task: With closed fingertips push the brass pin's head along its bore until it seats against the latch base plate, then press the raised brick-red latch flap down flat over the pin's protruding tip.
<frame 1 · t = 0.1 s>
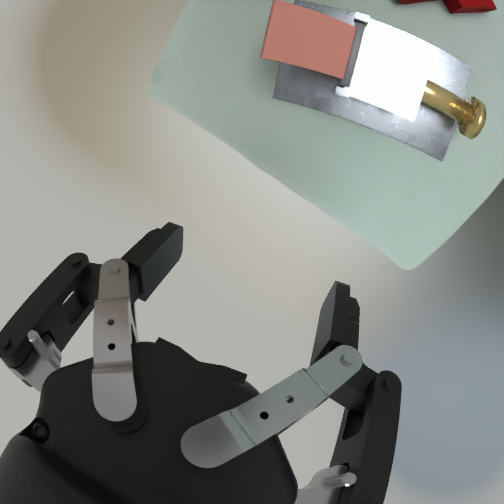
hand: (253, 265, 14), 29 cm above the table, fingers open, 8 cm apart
latch flap: (315, 41, 18), point 13 cm above the table, hinge at 30.0°
brass pin: (429, 93, 23), point 5 cm above the table, slide at 8.0 cm
latch base plate: (377, 73, 27), on the table
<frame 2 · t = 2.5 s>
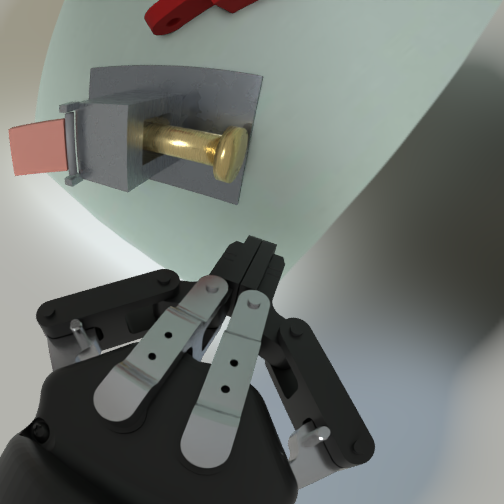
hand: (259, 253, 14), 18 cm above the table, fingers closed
latch flap: (41, 147, 22), point 13 cm above the table, hinge at 30.0°
brass pin: (173, 141, 26), point 5 cm above the table, slide at 8.0 cm
latch base plate: (154, 124, 31), on the table
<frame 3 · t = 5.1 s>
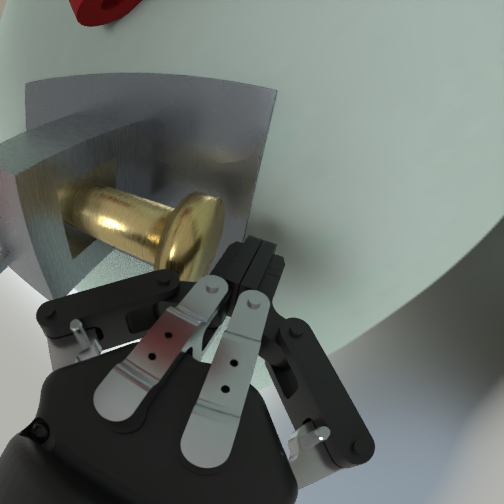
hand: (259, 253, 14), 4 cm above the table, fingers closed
brass pin: (101, 211, 15), point 5 cm above the table, slide at 6.7 cm, touching gripper
latch base plate: (102, 168, 19), on the table
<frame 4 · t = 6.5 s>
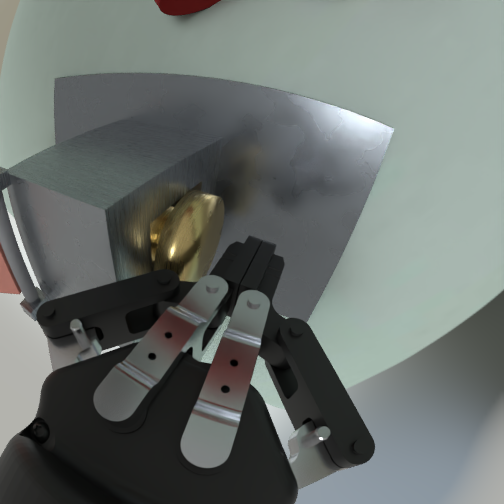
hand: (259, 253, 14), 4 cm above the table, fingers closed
brass pin: (100, 211, 15), point 5 cm above the table, slide at 0.1 cm
latch base plate: (165, 185, 19), on the table
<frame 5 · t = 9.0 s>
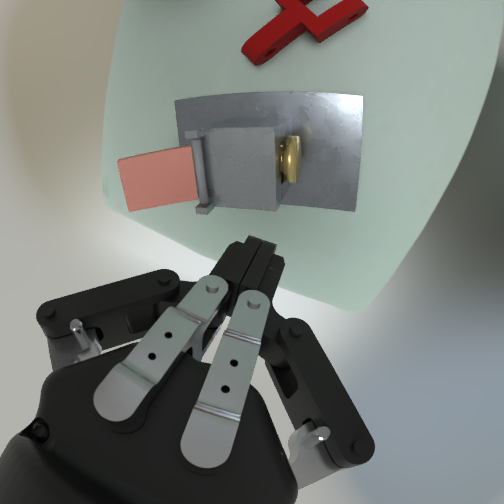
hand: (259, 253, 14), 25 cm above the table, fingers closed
latch flap: (163, 177, 28), point 13 cm above the table, hinge at 30.0°
mechanical linkage: (300, 24, 25), on the table
brass pin: (239, 157, 32), point 5 cm above the table, slide at 0.1 cm
latch base plate: (263, 148, 36), on the table
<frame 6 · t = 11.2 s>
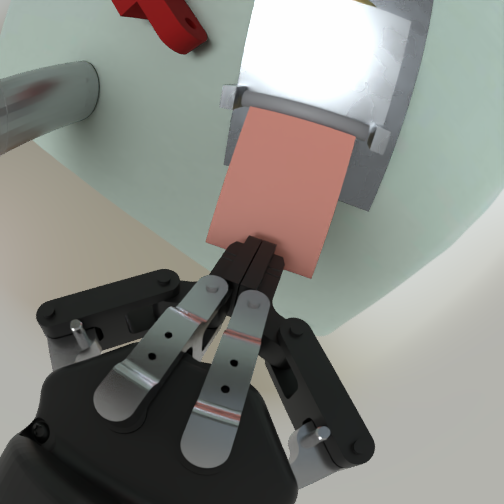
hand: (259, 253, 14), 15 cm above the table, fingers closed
latch flap: (284, 178, 14), point 13 cm above the table, hinge at 29.7°, touching gripper
mechanical linkage: (174, 1, 19), on the table
brass pin: (321, 78, 17), point 5 cm above the table, slide at 0.1 cm
latch base plate: (329, 64, 20), on the table
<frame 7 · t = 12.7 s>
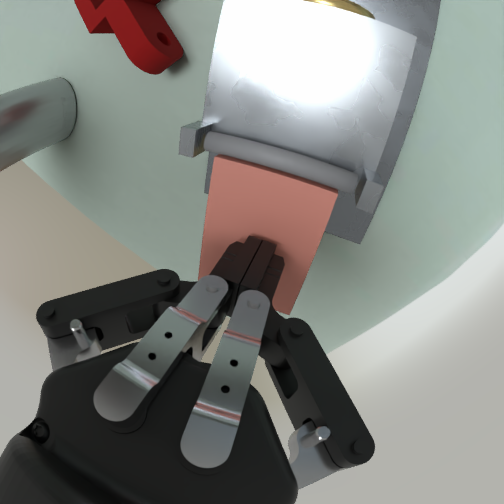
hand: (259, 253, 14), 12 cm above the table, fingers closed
latch flap: (260, 232, 14), point 11 cm above the table, hinge at 3.8°
mechanical linkage: (149, 12, 17), on the table
brass pin: (306, 103, 15), point 5 cm above the table, slide at 0.1 cm
latch base plate: (318, 81, 18), on the table
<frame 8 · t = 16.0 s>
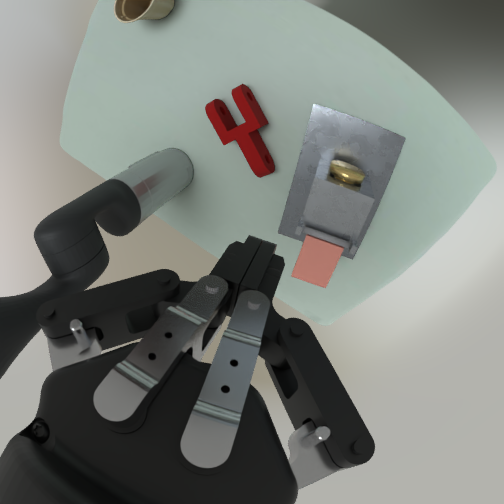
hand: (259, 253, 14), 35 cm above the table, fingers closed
latch flap: (318, 259, 42), point 11 cm above the table, hinge at 3.7°
mechanical linkage: (251, 131, 45), on the table
brass pin: (333, 207, 43), point 5 cm above the table, slide at 0.1 cm
flower pot: (162, 6, 33), on the table
latch base plate: (338, 187, 46), on the table
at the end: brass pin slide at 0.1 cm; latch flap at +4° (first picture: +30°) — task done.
